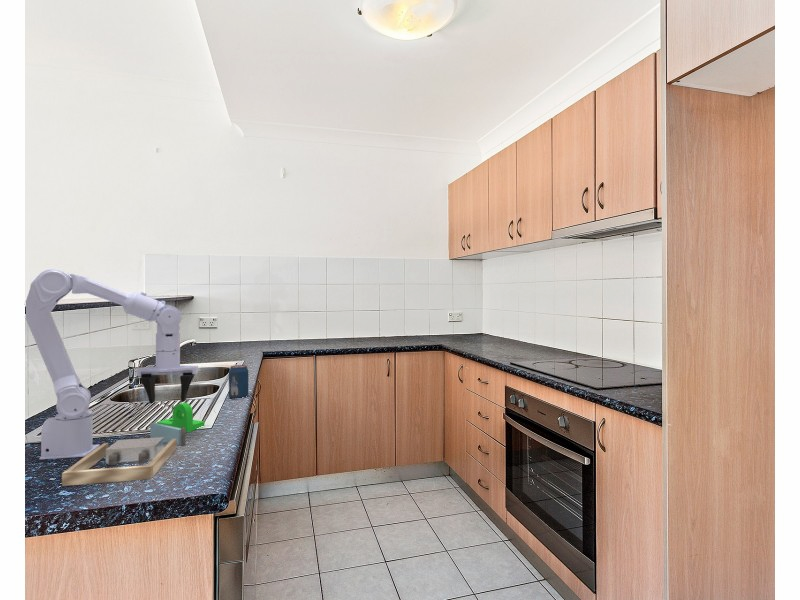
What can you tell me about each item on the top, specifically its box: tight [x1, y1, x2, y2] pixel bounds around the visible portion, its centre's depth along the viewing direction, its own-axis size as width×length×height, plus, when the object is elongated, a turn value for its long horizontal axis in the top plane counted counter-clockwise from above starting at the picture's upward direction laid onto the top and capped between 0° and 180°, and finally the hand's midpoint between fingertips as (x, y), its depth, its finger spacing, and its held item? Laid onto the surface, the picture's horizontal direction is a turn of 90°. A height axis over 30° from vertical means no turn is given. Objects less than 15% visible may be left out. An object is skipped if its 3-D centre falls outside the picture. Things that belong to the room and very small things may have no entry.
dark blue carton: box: [228, 364, 249, 398], centre depth 166 cm, size 7×7×12 cm
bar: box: [149, 422, 181, 446], centre depth 115 cm, size 1×12×4 cm, turn 61°
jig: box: [61, 427, 187, 487], centre depth 100 cm, size 18×22×4 cm
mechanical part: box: [156, 402, 206, 433], centre depth 128 cm, size 12×6×8 cm, turn 65°
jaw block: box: [105, 437, 165, 465], centre depth 104 cm, size 10×7×4 cm
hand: (167, 401), depth 118 cm, fingers open, 7 cm apart
